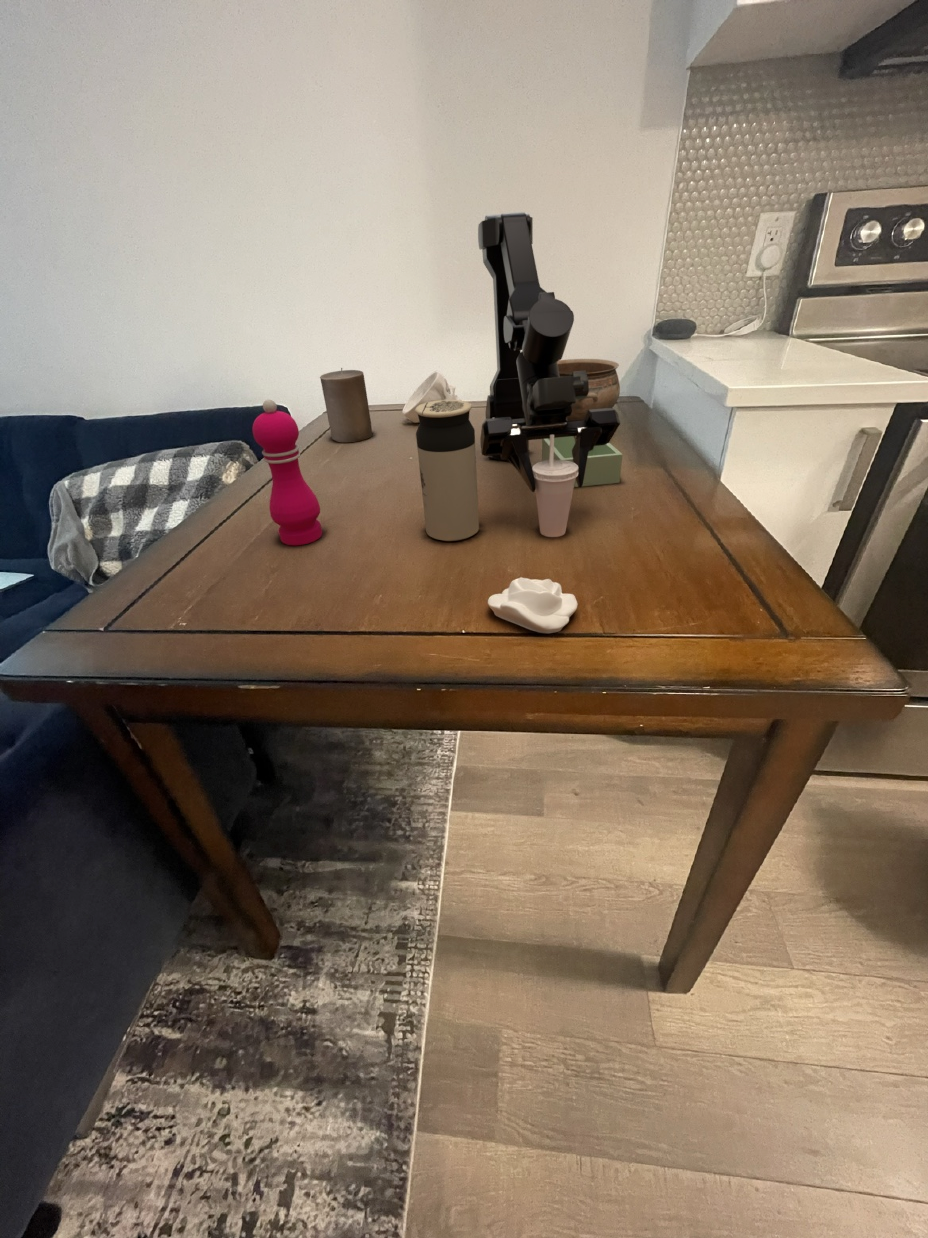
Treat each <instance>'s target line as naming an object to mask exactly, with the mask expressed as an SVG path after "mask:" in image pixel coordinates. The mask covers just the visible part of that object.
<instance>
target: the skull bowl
mask: <svg viewBox="0 0 928 1238" xmlns="http://www.w3.org/2000/svg"><path fill="white" fill-rule="evenodd" d="M455 391H456V386H455V385H451V384H449V382H448V381H447V379H446V377H445V376H444V375H443V373H442V372H440V371H439V370H435V371H433V372H432V373H430V374H429V375H428V376H427V377H426V378H425V380H424V381H422V382H421V384H419V386H418V387H417V388H416V389H415V391H413V393H412V394H411V395H410V396H409V398H408V400H407V401H406V403H405V404H404V406H403V408H402V410H401V411H402V412H401V413H402V415H403V416H404V417H405V418H406V419H408V420H409V421H411V422H412V423H414V424H420V421H419V417H418V414H417V413H416V412H415V409H416V407H417V406H419V405H421V404H424V403H427V402H432V401H439V400H461V401H463V400H462V399H461V398H459V397H458V395H455Z"/></svg>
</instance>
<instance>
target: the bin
mask: <svg viewBox="0 0 928 1238" xmlns="http://www.w3.org/2000/svg"><path fill="white" fill-rule="evenodd" d="M574 445H575V439H574V437H573V436H569V437H558V438H554V458H553V460H566V461H570V462H573V456H572V449H573V447H574ZM549 453H550V438H547V439H541V462H542V461H546V460H549ZM622 462H623V453H621V452H620V451H619V449H617V448H616V447H615V446H614V445H613V444H612V443H610V442H609V443H607V444H605V445H600V446H594V448H593V450H591V451H589V453H588V458H587V463H586V469H585V475H584V481H583V485H582V487H590V486H602V485H613V484H620V482H621V473H622ZM574 488H579V487H578V485H577V482H576V478H575V483H574Z"/></svg>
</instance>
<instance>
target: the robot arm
mask: <svg viewBox="0 0 928 1238" xmlns="http://www.w3.org/2000/svg"><path fill="white" fill-rule="evenodd" d="M533 218H534V217H532V216H531V215H530V214H529V213H525V211H520V212H506V213H504V212H503V213H501V214H490V215H489V214H488V215H487V214H486V215H485V216H484V220H482V221H480V222H479V223H478V225H477V243H478V249H479V250H481V254H482V263H483V265H484V266H485V268H486V270H487V271H488V273H489V274H490V276H491V278H492V287H493V289H492V290H493V308H494V328H495V349H496V353H495V354H496V372H495V374H494V376H493V378H492V380H491V382H490V384H489V394H488V395H487V398H486V404H485V410H484V411H485V419H484V421H483V422H482V424H481V430H480V437H479V438H480V439H479V441H480V443H479V444H480V452H481V456H483V457H488V460H489V459H490V460H497V461H508V462H509V463H510V464H511V465H512V466H513V467H514V469H515V470H516V471H517V472H518V474H519V476H520V477H521V478H522V479H523V481H524V483H525V485H526V486H527V488H528V489H529V491H530V492H531V493H536V490H535V489H536V487H535V479H534V474H533V470H532V467H533V465H532V462H531V458H530V455H529V453H530V449H529V448H530V447H529V446H530V445H529V444H530V441H535V440H542V439H547V438H550V435H554V438H558V437H569V436H573V437H574V439H575V445H574V447H573V449H572V456H573V463H575V464H576V465H578V473H579V474H578V476H577V477H576V482H577V485H578V487H577V488H583V486H582V485H583V481H584V475H585V469H586V463H587V458H588V453H589V451H591V450H593V448H594V446H600V445H605V444H607V443H610V442H611V440H612V439H613V437H614V435H615V433H616V432H617V430H618V428H619V427H620V424H621V422H620V417H619V412H617V410H616V409H614V407H613V408H604V409H592V410H588V411H587V414H586V416H585V418H584V420H583V421H573V422H567V416H570V415H571V413H572V407H571V405H572V404H575V403H576V399H584V398H585V397H586V396H587V395H588V393H589V382H588V377H587V373H586V370H585V371H574V372H573V373H572V374H571V375H570V376H565V377H560V375H559V370H558V364H557V361H559V360H563V356H564V354H565V350H566V347H567V344H568V341H569V337H570V334H571V331H572V328H573V324H574V323H575V314H574V310H571V308H570V307H569V306H568V304H567V303H565V302H564V301H563V300H561V299H557V298H556V296H555V292H554V291H548V292H547V291H546V290H545V289H543V288H542V287H541V285H540V284H541V283H540V279H539V275H538V270H537V263H536V258H535V254H534V249H533V243H534V241H533V240H534V239H533V237H534V235H533V234H534V233H533V231H534V230H533V224H534V223H533V221H534V219H533Z"/></svg>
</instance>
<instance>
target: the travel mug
mask: <svg viewBox="0 0 928 1238" xmlns="http://www.w3.org/2000/svg"><path fill="white" fill-rule="evenodd" d="M461 400H462V399H461ZM461 400H439V401H432V402H427V403H424V404H421V405H419V406H417V407H416V409H415V412H416V413H417V414H418V417H419V421H420V423H418V424H419V425H418V427H417V430H416V433H415V439H416V448H417V456H418V457H417V458H418V466H419V476H420V483H421V484H420V485H421V495H422V505H423V511H424V512H423V515H424V523H425V531H426V534H427V535H428V536H429V537H430V538H432V539H435V540H440V541H444V542H456V541H462V540H465V539H468V538H470V537H472V536H474V535H475V534H477V533H478V532H479V529H480V518H479V517H480V516H479V495H478V476H477V453H476V452H477V451H476V432H475V431H476V430H475V428H474V426H473V424H472V422H471V420H470V412H471V410H472V407H473V406H472V404H471V403H470V402H468V401H465V400H462V401H461Z"/></svg>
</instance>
